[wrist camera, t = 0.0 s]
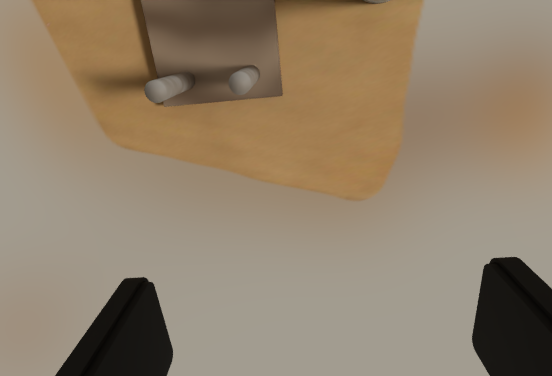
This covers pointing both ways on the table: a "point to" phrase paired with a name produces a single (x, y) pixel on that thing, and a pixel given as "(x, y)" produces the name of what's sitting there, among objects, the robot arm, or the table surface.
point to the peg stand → (212, 50)
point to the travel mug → (376, 1)
